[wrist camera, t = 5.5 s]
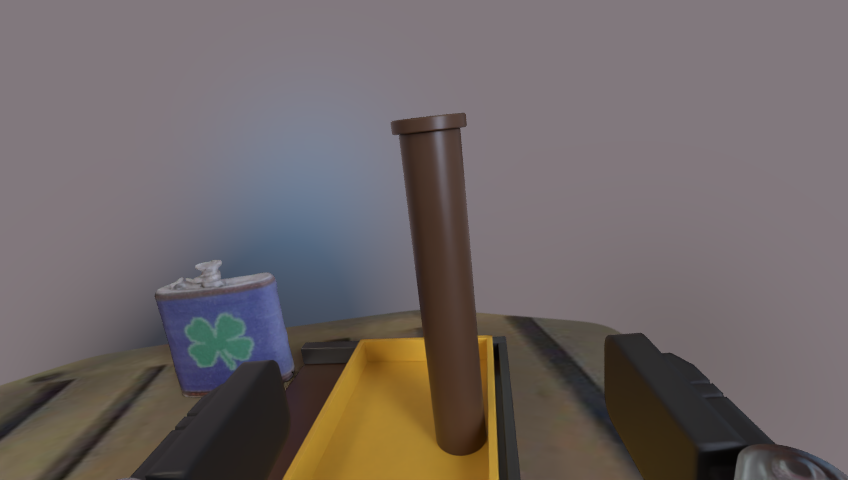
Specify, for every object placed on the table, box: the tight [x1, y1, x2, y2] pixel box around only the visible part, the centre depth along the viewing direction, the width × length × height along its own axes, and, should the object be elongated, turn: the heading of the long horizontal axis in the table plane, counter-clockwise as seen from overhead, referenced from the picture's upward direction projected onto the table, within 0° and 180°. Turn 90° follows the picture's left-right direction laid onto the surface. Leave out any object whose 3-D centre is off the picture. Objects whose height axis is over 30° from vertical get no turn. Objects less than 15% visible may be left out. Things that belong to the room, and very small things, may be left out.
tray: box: [282, 113, 499, 480], centre depth 22 cm, size 10×16×18 cm, turn 172°
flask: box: [155, 260, 295, 397], centre depth 33 cm, size 9×3×11 cm, turn 94°
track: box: [267, 336, 520, 480], centre depth 24 cm, size 16×20×2 cm
